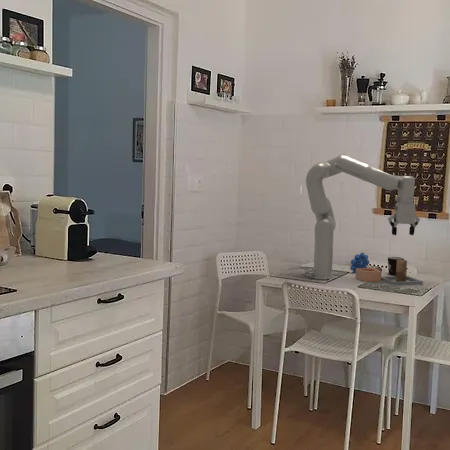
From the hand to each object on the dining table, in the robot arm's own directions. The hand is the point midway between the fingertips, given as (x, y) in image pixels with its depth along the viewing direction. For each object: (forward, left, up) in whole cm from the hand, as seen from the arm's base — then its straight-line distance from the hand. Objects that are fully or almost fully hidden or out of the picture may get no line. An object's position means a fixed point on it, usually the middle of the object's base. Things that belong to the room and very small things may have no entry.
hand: (402, 234), depth 312 cm
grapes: (-10, +27, -25) cm, 38 cm away
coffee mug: (+8, +20, -25) cm, 33 cm away
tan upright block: (0, 0, -24) cm, 24 cm away
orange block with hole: (-14, +8, -25) cm, 30 cm away
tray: (0, 0, -25) cm, 25 cm away
